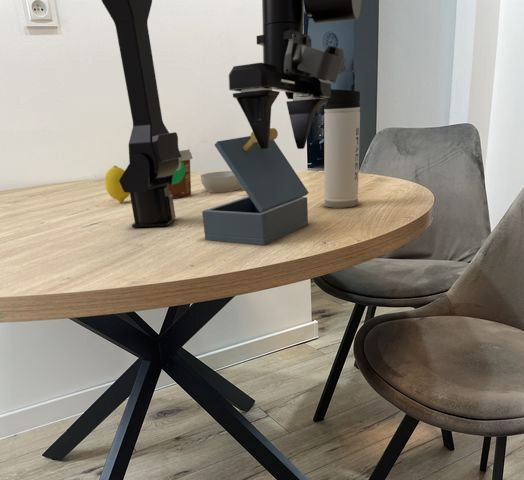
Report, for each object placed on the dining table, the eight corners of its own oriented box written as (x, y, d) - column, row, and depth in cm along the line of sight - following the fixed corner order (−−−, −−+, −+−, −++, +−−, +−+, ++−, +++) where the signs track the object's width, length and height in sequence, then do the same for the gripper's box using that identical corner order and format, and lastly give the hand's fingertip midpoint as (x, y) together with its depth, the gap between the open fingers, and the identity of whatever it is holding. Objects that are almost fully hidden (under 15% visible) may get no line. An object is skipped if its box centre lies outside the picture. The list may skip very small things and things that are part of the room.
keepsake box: (205, 239, 79) (201, 211, 77) (253, 220, 90) (251, 194, 88) (263, 245, 74) (261, 214, 72) (308, 224, 84) (307, 197, 82)
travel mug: (317, 204, 99) (317, 88, 90) (349, 200, 101) (351, 86, 92) (330, 209, 94) (330, 87, 85) (363, 205, 95) (367, 85, 86)
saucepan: (221, 184, 132) (219, 169, 130) (278, 187, 122) (278, 170, 120) (192, 191, 124) (190, 175, 122) (252, 195, 114) (250, 177, 113)
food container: (137, 200, 117) (129, 154, 113) (148, 196, 123) (141, 151, 118) (187, 199, 114) (181, 151, 110) (196, 194, 120) (191, 149, 115)
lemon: (127, 204, 114) (120, 166, 110) (104, 205, 115) (97, 167, 112) (137, 199, 119) (131, 163, 115) (115, 200, 120) (109, 164, 116)
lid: (213, 144, 72) (232, 123, 69) (265, 136, 82) (284, 116, 79) (259, 213, 72) (280, 194, 69) (305, 195, 82) (325, 178, 79)
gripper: (299, 1, 59) (298, 146, 65) (365, 31, 74) (359, 147, 79) (223, 17, 65) (228, 149, 71) (298, 41, 80) (297, 149, 85)
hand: (283, 148), depth 76 cm, fingers open, 9 cm apart
